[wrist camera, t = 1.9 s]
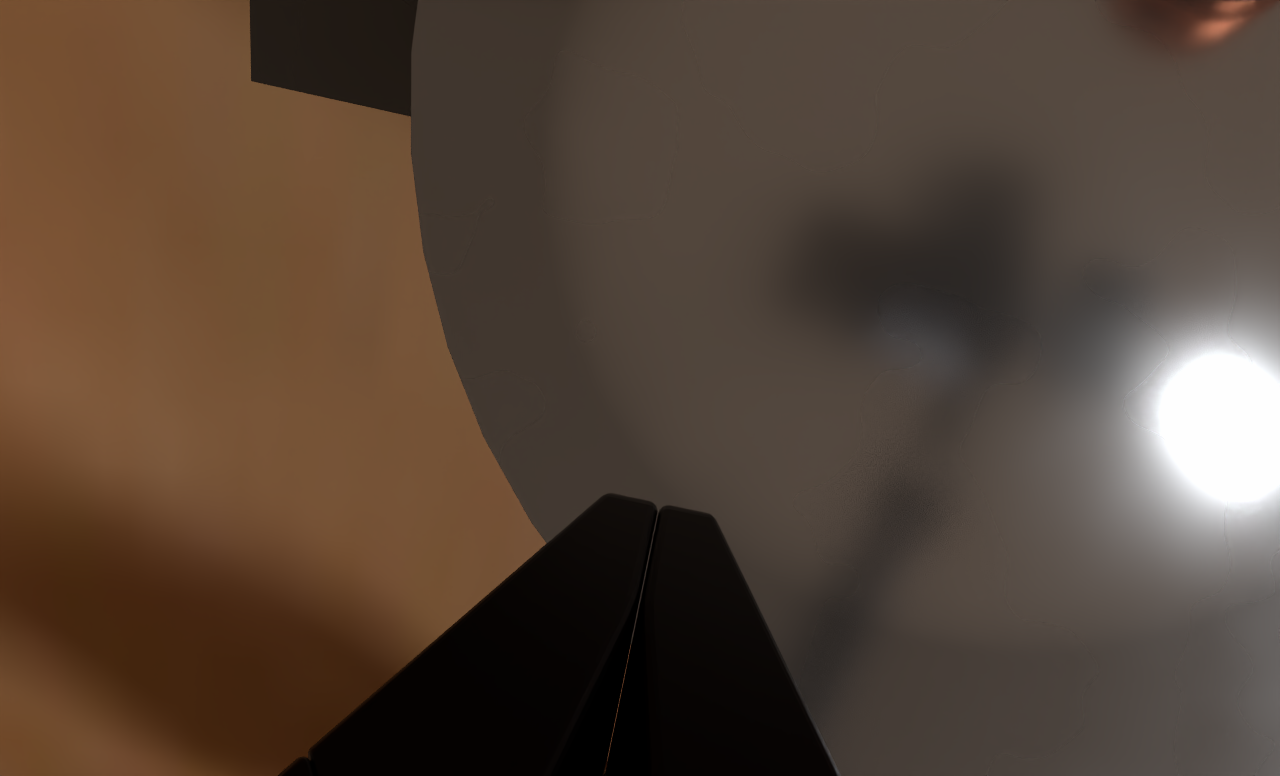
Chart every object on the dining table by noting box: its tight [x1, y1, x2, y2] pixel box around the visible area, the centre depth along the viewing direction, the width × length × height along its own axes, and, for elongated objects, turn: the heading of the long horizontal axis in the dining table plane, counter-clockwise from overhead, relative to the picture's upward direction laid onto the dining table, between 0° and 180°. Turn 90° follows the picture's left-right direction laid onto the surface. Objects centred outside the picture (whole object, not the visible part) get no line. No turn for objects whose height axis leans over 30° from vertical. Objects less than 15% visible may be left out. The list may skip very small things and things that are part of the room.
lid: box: [411, 0, 1280, 776], centre depth 10 cm, size 15×15×2 cm
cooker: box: [250, 0, 418, 116], centre depth 16 cm, size 18×23×5 cm
